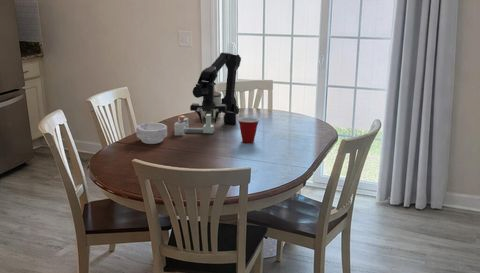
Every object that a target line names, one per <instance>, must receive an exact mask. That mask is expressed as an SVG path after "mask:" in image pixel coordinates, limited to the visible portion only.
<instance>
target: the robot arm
mask: <svg viewBox="0 0 480 273" xmlns="http://www.w3.org/2000/svg"><path fill="white" fill-rule="evenodd" d="M241 62H242V57H241V56H240V55H239V54H237V53H230V52H223V51H222V52H220V54H219V56H218V57H217V58H216V59H215V61H214V62H213V63H212V64H211V65H210V66H208V67H205V68H204V69H203V70H201V73H200V76H199V78H198V80H197V83H195V86H194V87H193V90H192V94H193V96H194V97H195V98H198V99H199V98H202V101H201V105H200V103H192V104H191V105H190V107H189V109H190V111H191V112H192V111H193V112H194V113H196V114H197V115H198V117H199V120H200V123H201V124H203V112H205V111H211V110H212V109H216V115H215V119H214V124H216V123H217V121H218V119H219V118H218V115H219V113H221V114H224V115H223V123H224V125H226V126H227V125H228V126H229V125H230V126H236V124H237V121H238V120H237V115H239V113H240V108H239V106H238V105H237V98H235V92H236V90H235V89H236V79H237V70H238V69H239V67H241ZM224 65H225V67H226V69H227V72H226V73H227V74H226V86H225V95H224V96H223V98H222V97H221V104H219V106H215V102H214V92H215V86H216V85H217V83H216V82H215V81H216V80H217V77H218V73H219V72H220V71H221V69H222V68H223V67H224Z"/></svg>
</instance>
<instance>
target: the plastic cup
mask: <svg viewBox="0 0 480 273" xmlns="http://www.w3.org/2000/svg"><path fill="white" fill-rule="evenodd" d="M237 121H238V124H239V128H240V135H241V141H242V143H244V144H253V143H254V141H255V139H256V138H255V137H256V133H257V128H258V125H259V122H260V118H256V117H255V118H254V117H239V118H237Z"/></svg>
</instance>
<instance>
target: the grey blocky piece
mask: <svg viewBox="0 0 480 273" xmlns="http://www.w3.org/2000/svg"><path fill="white" fill-rule="evenodd" d="M187 128H190V126H189V117H185V118H184V122H179V118H178V119H177V121H176V122H174V136H185V135H186V134H187Z"/></svg>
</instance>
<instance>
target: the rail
mask: <svg viewBox="0 0 480 273" xmlns="http://www.w3.org/2000/svg"><path fill="white" fill-rule="evenodd" d="M187 133H188V134H190V133H191V134H204V133H203V127H189V128H187V132H186V134H187ZM211 134H215V127H214V128H213V133H211Z"/></svg>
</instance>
